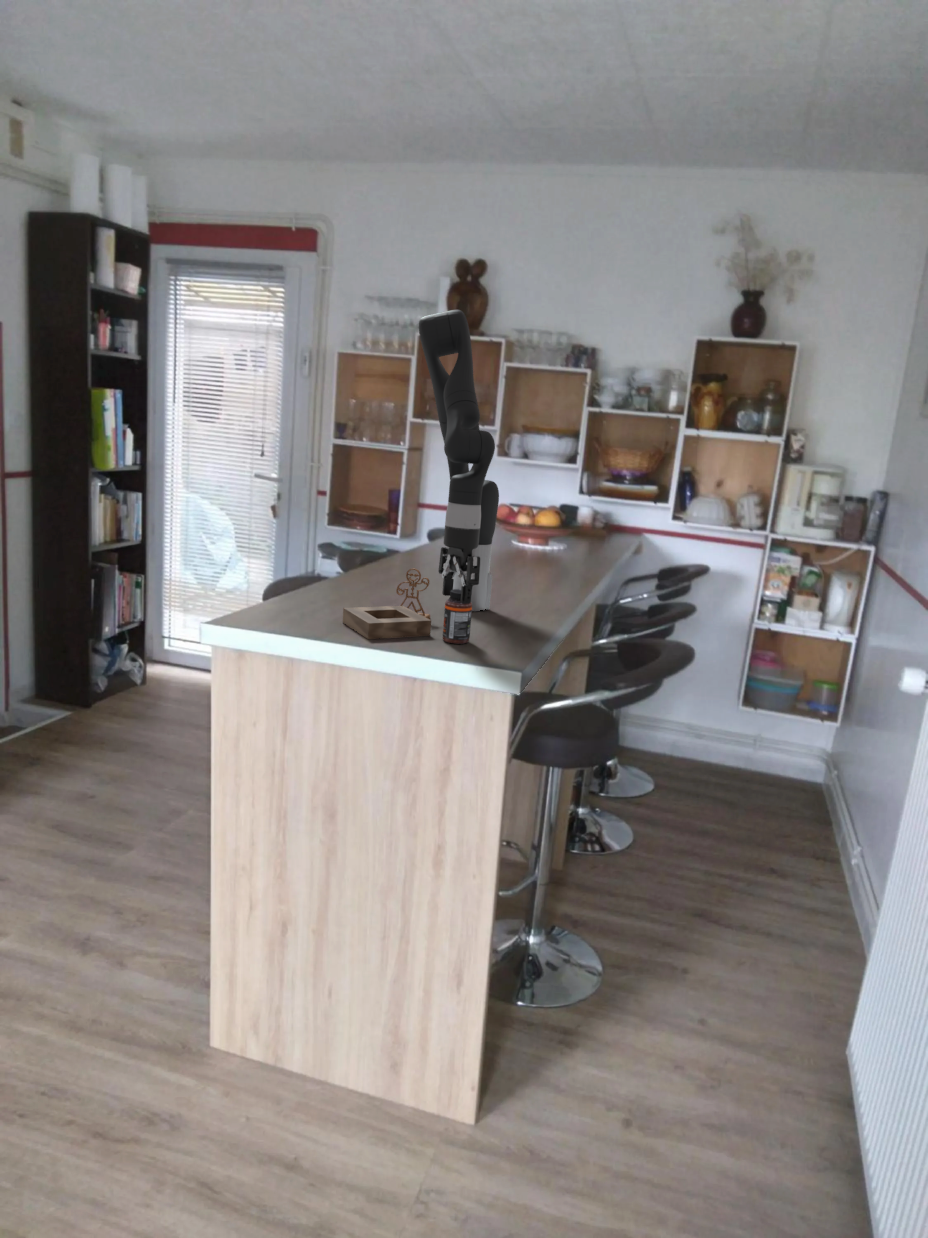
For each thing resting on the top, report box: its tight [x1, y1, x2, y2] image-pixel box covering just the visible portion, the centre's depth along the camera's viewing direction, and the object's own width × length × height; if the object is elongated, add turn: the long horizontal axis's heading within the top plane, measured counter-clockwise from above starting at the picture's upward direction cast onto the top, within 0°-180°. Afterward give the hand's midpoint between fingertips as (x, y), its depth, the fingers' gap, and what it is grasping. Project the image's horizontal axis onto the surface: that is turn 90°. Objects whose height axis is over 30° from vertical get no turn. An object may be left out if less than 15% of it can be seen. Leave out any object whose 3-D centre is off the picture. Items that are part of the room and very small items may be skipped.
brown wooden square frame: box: [342, 605, 432, 640], centre depth 194 cm, size 15×15×4 cm
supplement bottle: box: [442, 589, 473, 645], centre depth 188 cm, size 6×6×11 cm
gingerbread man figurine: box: [396, 567, 431, 620], centre depth 207 cm, size 9×4×12 cm, turn 73°
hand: (456, 599), depth 187 cm, fingers open, 8 cm apart
